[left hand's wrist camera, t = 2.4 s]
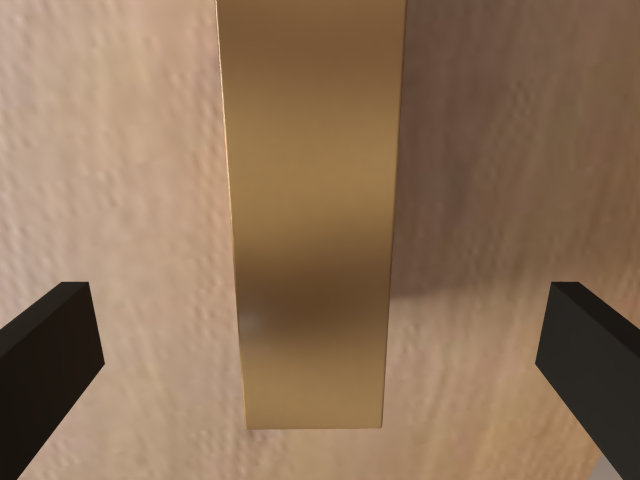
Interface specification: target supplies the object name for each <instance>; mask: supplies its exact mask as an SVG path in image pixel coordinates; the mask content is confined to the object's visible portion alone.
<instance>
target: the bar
mask: <svg viewBox="0 0 640 480" xmlns="http://www.w3.org/2000/svg"><path fill="white" fill-rule="evenodd" d="M215 11H216V25H217V39H218V53H219V67H220V81H221V95H222V109H223V123H224V137H225V151H226V165H227V180H228V194H229V208H230V222H231V236H232V250H233V264H234V278H235V292H236V306H237V320H238V334H239V348H240V362H241V376H242V390H243V404H244V418H245V428H246V429H359V428H382V421H383V404H384V387H385V370H386V354H387V337H388V320H389V303H390V286H391V269H392V252H393V235H394V218H395V201H396V184H397V167H398V150H399V134H400V117H401V100H402V83H403V66H404V49H405V32H406V15H407V0H215Z"/></svg>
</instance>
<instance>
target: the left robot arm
mask: <svg viewBox="0 0 640 480" xmlns="http://www.w3.org/2000/svg"><path fill="white" fill-rule="evenodd" d="M104 364H105V362H104V357H103V352H102V347H101V342H100V337H99V332H98V327H97V322H96V317H95V312H94V307H93V302H92V297H91V292H90V287H89V282H61V283H59V284H58V285H57V286H56V287H54V288H53V289H52V290H50V291H49V292H48V293H47V294H45V295H44V296H43V297H41V298H40V299H39V300H38V301H36V302H35V303H34V304H32V305H31V306H30V307H29V308H27V309H26V310H25V311H23V312H22V313H21V314H20V315H18V316H17V317H16V318H15V319H13V320H12V321H11V322H9V323H8V324H7V325H6V326H4V327H3V328H2V329H0V480H17V479H18V478H19V476H20V475H21V474H22V472H23V471H24V470H25V468H26V467H27V466H28V464H29V463H30V462H31V460H32V459H33V458H34V457H35V455H36V454H37V453H38V451H39V450H40V449H41V447H42V446H43V445H44V443H45V442H46V441H47V439H48V438H49V437H50V435H51V434H52V433H53V432H54V430H55V429H56V428H57V426H58V425H59V424H60V422H61V421H62V420H63V418H64V417H65V416H66V414H67V413H68V412H69V410H70V409H71V408H72V406H73V405H74V404H75V403H76V401H77V400H78V399H79V397H80V396H81V395H82V393H83V392H84V391H85V389H86V388H87V387H88V385H89V384H90V383H91V381H92V380H93V379H94V378H95V376H96V375H97V374H98V372H99V371H100V370H101V368H102V367H103V366H104ZM535 364H536V366H537V367H538V368H539V370H540V371H541V372H542V374H543V375H544V376H545V378H546V379H547V380H548V381H549V383H550V384H551V385H552V387H553V388H554V389H555V391H556V392H557V393H558V395H559V396H560V397H561V399H562V400H563V401H564V403H565V404H566V405H567V406H568V408H569V409H570V410H571V412H572V413H573V414H574V416H575V417H576V418H577V420H578V421H579V422H580V424H581V425H582V426H583V428H584V429H585V430H586V432H587V433H588V434H589V435H590V437H591V438H592V439H593V441H594V442H595V443H596V445H597V446H598V447H599V449H600V450H601V451H602V453H603V454H604V455H605V457H606V458H607V459H608V460H609V462H610V463H611V464H612V466H613V467H614V468H615V470H616V471H617V472H618V474H619V475H620V476H621V478H622V479H623V480H640V329H638V328H637V327H636V326H634V325H633V324H632V323H631V322H629V321H628V320H627V319H625V318H624V317H623V316H622V315H620V314H619V313H618V312H617V311H615V310H614V309H613V308H611V307H610V306H609V305H608V304H606V303H605V302H604V301H602V300H601V299H600V298H599V297H597V296H596V295H595V294H593V293H592V292H591V291H590V290H588V289H587V288H586V287H584V286H583V285H582V284H581V283H579V282H551V287H550V292H549V297H548V302H547V307H546V312H545V317H544V322H543V327H542V332H541V337H540V342H539V347H538V352H537V357H536V362H535Z"/></svg>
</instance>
